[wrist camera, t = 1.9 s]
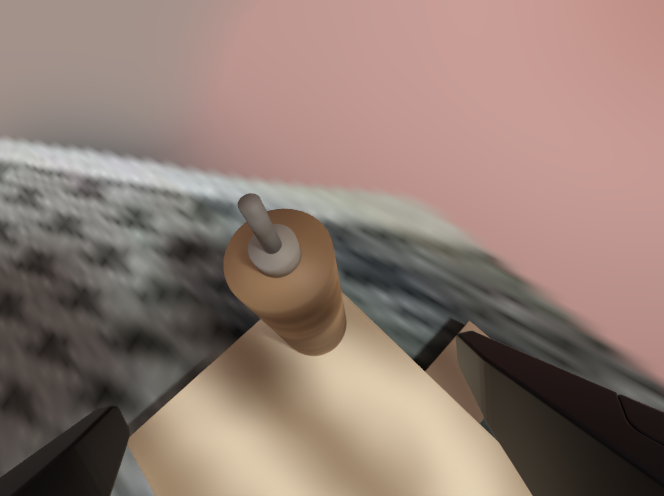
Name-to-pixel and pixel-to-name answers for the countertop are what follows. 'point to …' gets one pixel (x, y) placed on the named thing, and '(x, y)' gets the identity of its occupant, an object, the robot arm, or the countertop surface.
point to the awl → (287, 275)
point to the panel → (324, 424)
